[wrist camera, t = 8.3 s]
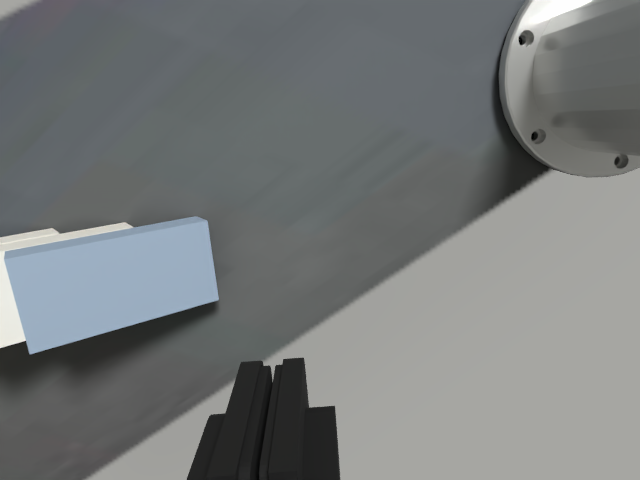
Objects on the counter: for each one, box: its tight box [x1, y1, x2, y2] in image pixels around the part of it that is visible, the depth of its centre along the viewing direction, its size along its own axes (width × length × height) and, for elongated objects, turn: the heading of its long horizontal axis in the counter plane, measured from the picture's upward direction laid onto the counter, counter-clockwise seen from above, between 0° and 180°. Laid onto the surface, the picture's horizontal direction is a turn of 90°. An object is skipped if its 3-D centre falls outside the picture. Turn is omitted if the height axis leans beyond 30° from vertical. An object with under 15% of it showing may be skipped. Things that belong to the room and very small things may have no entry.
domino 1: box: [0, 222, 133, 348], centre depth 25 cm, size 2×5×10 cm
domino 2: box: [4, 216, 219, 354], centre depth 25 cm, size 2×5×10 cm
